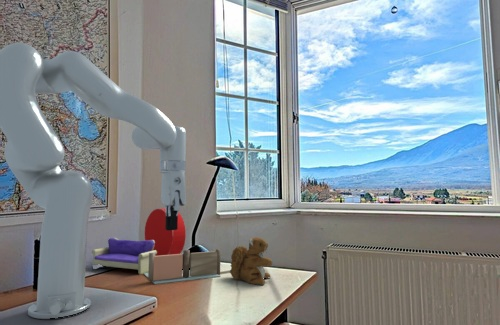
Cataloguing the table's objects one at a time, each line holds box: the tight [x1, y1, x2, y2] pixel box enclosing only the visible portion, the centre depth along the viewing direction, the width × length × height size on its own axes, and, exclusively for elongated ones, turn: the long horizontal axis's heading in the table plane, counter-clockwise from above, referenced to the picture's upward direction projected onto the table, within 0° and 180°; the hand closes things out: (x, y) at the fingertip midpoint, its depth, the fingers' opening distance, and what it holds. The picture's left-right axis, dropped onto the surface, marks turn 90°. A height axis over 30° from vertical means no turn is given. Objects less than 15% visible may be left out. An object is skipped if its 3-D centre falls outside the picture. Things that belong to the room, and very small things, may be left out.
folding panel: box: [147, 253, 183, 282], centre depth 107 cm, size 2×10×8 cm, turn 120°
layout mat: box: [143, 270, 221, 285], centre depth 114 cm, size 14×21×1 cm, turn 120°
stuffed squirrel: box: [229, 236, 273, 286], centre depth 110 cm, size 10×14×13 cm
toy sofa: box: [91, 237, 157, 276], centre depth 121 cm, size 21×9×10 cm, turn 70°
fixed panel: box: [182, 248, 222, 278], centre depth 113 cm, size 2×13×8 cm, turn 120°
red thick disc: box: [144, 208, 187, 256], centre depth 140 cm, size 20×6×20 cm, turn 47°
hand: (171, 229), depth 104 cm, fingers closed
